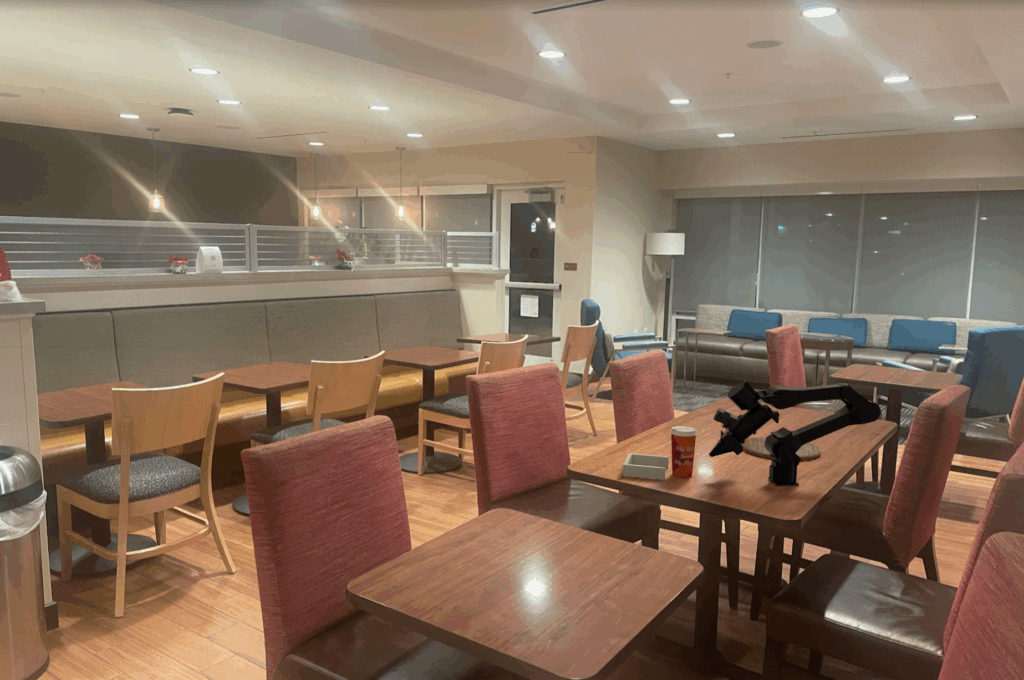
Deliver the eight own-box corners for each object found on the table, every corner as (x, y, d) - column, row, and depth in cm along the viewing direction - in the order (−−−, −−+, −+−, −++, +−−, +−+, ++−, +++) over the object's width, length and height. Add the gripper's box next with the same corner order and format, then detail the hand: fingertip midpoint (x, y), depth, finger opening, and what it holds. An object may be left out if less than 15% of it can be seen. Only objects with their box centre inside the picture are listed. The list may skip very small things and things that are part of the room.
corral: (668, 467, 214) (668, 456, 214) (664, 480, 202) (665, 468, 201) (628, 464, 218) (629, 453, 217) (622, 476, 205) (623, 464, 205)
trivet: (741, 439, 251) (741, 434, 251) (817, 446, 243) (817, 440, 243) (739, 457, 228) (739, 451, 227) (823, 465, 219) (823, 459, 219)
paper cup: (676, 480, 202) (678, 432, 200) (664, 472, 209) (665, 426, 208) (701, 478, 204) (702, 431, 202) (687, 470, 211) (689, 425, 210)
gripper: (731, 394, 209) (691, 427, 214) (732, 406, 191) (688, 442, 196) (758, 422, 208) (717, 455, 212) (761, 436, 190) (717, 472, 194)
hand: (709, 455), depth 204 cm, fingers closed
